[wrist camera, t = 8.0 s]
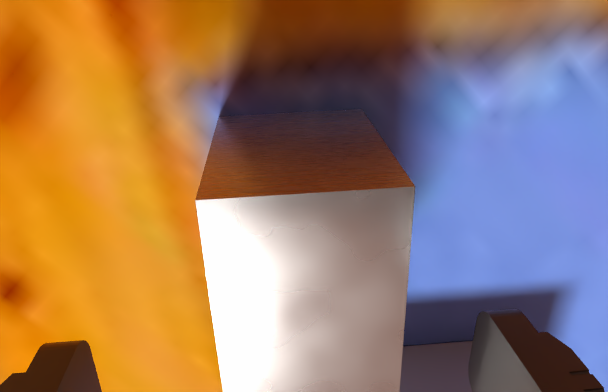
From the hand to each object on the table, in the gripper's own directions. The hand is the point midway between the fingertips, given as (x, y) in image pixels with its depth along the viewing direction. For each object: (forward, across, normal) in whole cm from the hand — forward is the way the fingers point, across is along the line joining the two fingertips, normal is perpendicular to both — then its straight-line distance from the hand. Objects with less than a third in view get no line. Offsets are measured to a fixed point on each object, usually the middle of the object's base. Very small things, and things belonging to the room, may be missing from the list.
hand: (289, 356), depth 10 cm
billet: (+7, -1, 0) cm, 7 cm away
